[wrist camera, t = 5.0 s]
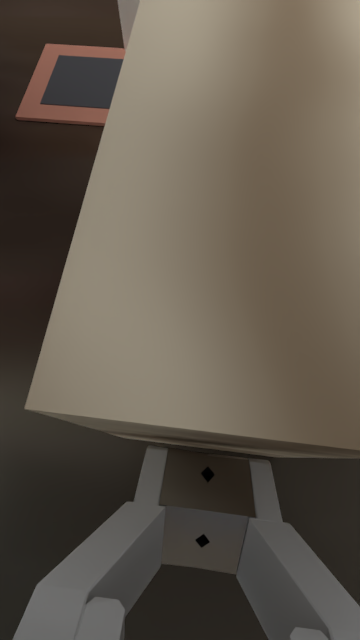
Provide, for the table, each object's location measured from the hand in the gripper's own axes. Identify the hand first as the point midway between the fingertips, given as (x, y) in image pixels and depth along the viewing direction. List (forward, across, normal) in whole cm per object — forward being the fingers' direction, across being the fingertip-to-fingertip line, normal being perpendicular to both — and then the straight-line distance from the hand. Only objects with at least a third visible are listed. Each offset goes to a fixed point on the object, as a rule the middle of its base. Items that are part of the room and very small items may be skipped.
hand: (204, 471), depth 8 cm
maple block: (+8, 0, -1) cm, 8 cm away
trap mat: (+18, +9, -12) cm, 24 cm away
